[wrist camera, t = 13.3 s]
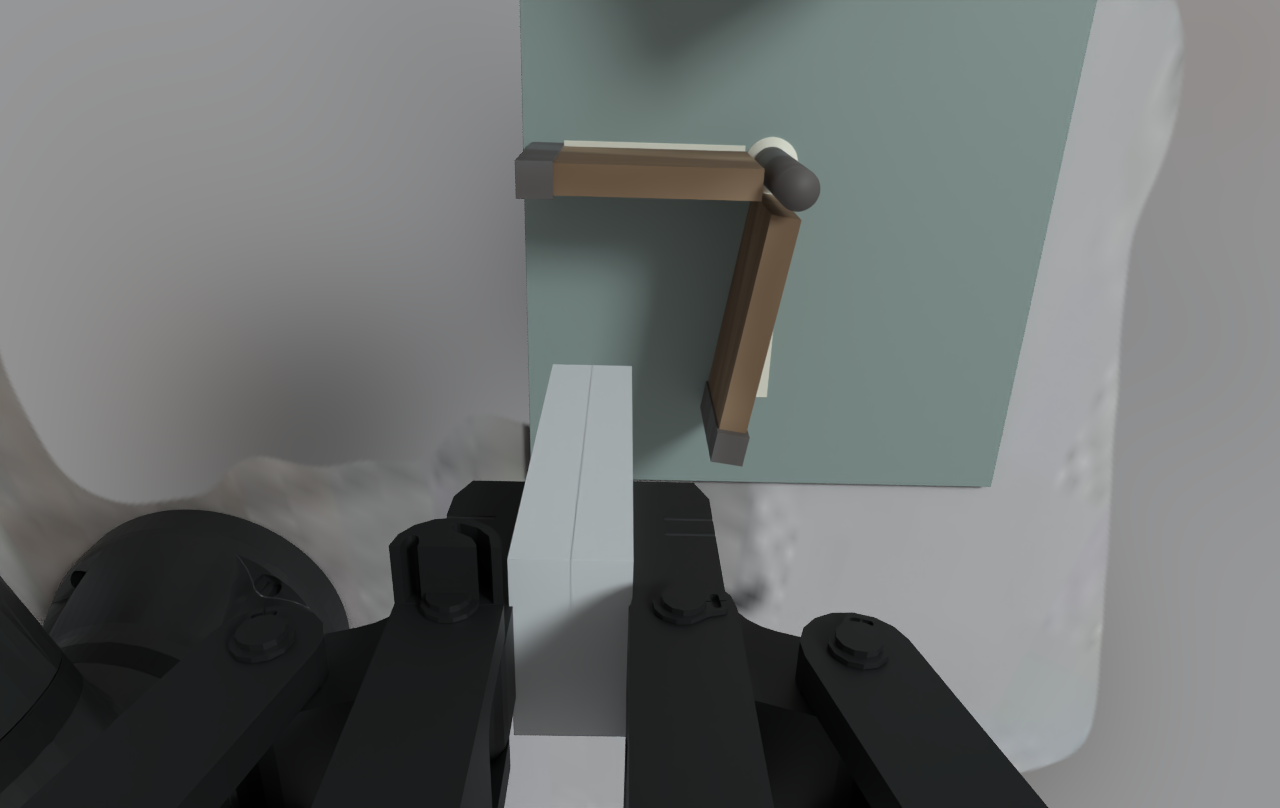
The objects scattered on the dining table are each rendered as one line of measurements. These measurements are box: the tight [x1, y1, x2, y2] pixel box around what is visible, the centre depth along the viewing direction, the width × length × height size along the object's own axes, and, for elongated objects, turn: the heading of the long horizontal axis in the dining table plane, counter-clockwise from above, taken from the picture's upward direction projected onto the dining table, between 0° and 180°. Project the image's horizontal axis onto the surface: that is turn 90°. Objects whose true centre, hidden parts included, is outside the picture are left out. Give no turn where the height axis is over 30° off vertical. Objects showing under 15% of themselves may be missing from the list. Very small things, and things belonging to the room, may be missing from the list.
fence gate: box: [700, 193, 802, 467], centre depth 37 cm, size 1×11×6 cm, turn 170°
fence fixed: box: [515, 142, 820, 212], centre depth 35 cm, size 2×11×7 cm, turn 88°
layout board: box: [520, 0, 1097, 487], centre depth 40 cm, size 24×24×1 cm
